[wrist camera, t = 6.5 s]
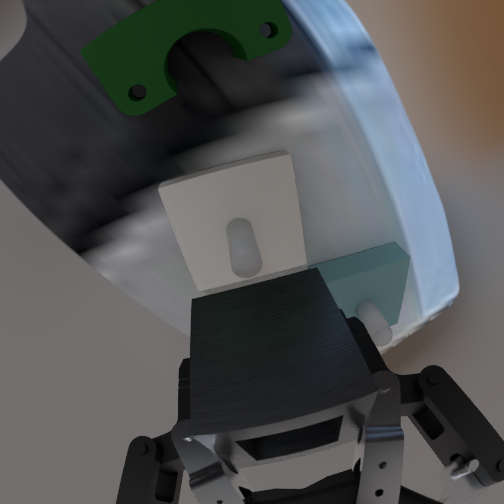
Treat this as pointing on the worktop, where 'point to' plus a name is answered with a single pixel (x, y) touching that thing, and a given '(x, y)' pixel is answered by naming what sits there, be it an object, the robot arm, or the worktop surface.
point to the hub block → (369, 287)
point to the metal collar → (275, 371)
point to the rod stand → (237, 219)
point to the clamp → (167, 34)
